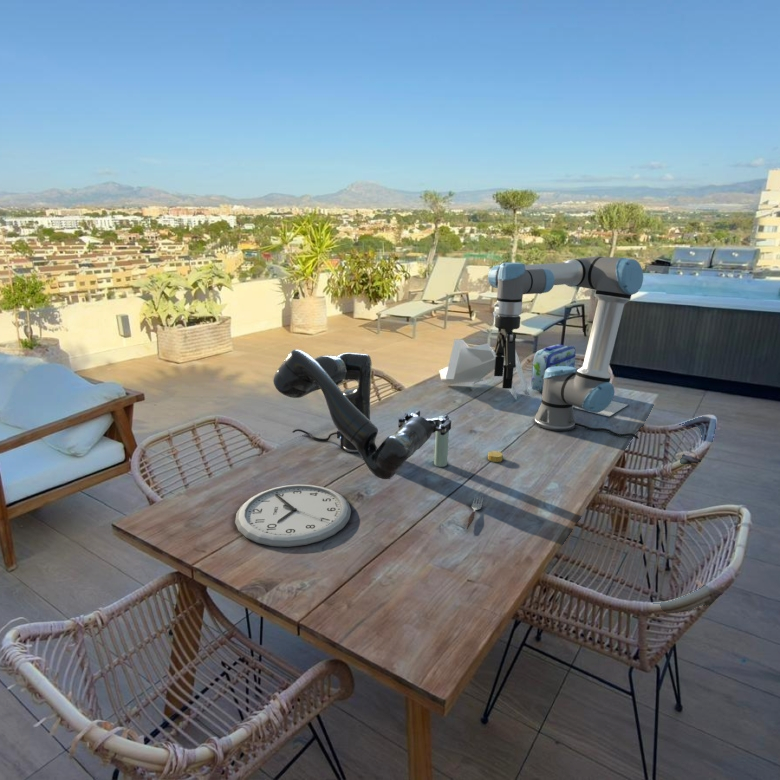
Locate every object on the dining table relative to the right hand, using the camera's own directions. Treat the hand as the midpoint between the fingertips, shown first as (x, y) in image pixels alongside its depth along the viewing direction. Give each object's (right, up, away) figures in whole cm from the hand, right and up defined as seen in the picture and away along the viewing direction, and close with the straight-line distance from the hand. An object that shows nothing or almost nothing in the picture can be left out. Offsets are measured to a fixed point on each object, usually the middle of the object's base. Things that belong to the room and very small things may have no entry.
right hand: (502, 382), depth 165 cm
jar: (-19, -26, +4) cm, 33 cm away
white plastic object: (+6, -4, +78) cm, 78 cm away
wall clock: (-61, -35, -27) cm, 75 cm away
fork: (-14, -36, -27) cm, 47 cm away
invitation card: (+56, -10, +61) cm, 83 cm away
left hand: (-23, -10, -12) cm, 28 cm away
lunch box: (+42, -2, +85) cm, 94 cm away
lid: (-1, -24, +8) cm, 25 cm away
